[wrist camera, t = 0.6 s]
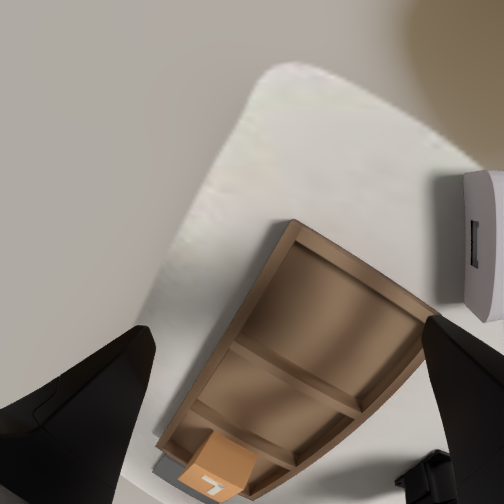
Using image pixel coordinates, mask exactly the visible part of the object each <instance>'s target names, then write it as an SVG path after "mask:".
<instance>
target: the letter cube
mask: <svg viewBox="0 0 504 504" xmlns="http://www.w3.org/2000/svg"><path fill="white" fill-rule="evenodd" d="M257 457H258V455H257V454H255V453H253V452H251V451H249V450H247V449H245V448H244V447H242V446H240V445H238V444H236V443H234V442H233V441H231V440H229V439H227V438H226V437H224V436H222V435H221V434H219V433H217V432H215V431H213V432H212V433H211V434H210V436H209V437H208V438H207V439H206V440H205V441H204V442H203V443H202V445H201V446H200V447H199V448H198V449H197V451H196V452H195V454H194V455H193V457H192V458H191V460H190V461H189V463H188V464H187V466H186V467H185V469H184V470H183V472H182V473H181V475H180V476H179V478H178V479H177V480H179V481H181V482H182V483H184V484H186V485H188V486H189V487H191V488H193V489H195V490H197V491H198V492H200V493H202V494H204V495H206V496H208V497H210V498H212V499H214V500H216V501H218V502H220V503H222V502H224V501H226V500H228V499H229V498H231V497H233V496H234V495H236V494H238V493H239V492H241V491H243V490H244V488H245V486H246V484H247V481H248V479H249V477H250V474H251V472H252V469H253V467H254V464H255V462H256V459H257Z"/></svg>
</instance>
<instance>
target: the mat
mask: <svg viewBox="0 0 504 504" xmlns="http://www.w3.org/2000/svg"><path fill="white" fill-rule="evenodd" d="M185 467H186V466H184V465H183V464H181V463H180V462H178V461H176V460H175V459H173V458H172V457H170V456H169V455H167V454H165V455H164V456H163V458H162V459H161V460H160V462H159V463H158V464H157V466H156V467H155V468H154V470H153V471H152V473H154V474H156V475H157V476H159V477H160V478H162V479H163V480H165V481H166V482H168V483H170V484H171V485H173V486H175V487H176V488H178V489H180V490H181V491H183V492H185V493H187V494H188V495H190V496H192V497H194V498H196V499H198V500H200V501H201V502H203V503H205V504H219V503H220V502H218V501H216V500H214V499H212V498H210V497H208V496H206V495H204V494H202V493H200V492H198V491H197V490H195V489H193V488H191V487H189V486H188V485H186V484H184V483H182V482H181V481H179V480H177V479H178V478H179V476H180V475H181V473H182V472H183V470H184V469H185Z"/></svg>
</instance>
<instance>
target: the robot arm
mask: <svg viewBox="0 0 504 504" xmlns="http://www.w3.org/2000/svg"><path fill="white" fill-rule="evenodd" d="M421 342H422V347H423V351H424V355H425V359H426V364H427V369H428V373H429V378H430V382H431V385H432V388H433V392H434V395H435V398H436V402H437V405H438V409H439V412H440V416H441V419H442V423H443V427H444V431H445V435H446V439H447V444H448V448H449V453H450V454H448V453H446V452H443V451H440V450H438V451H435V452H434V453H433V454H431V455H430V456H429V457H428V458H426V459H425V460H424V461H422V462H421V463H420V464H418V465H417V466H416V467H414V468H413V469H412V470H410V471H409V472H407V473H406V474H404V475H403V476H402V477H400V478H399V479H397V480H396V481H395V486H398V487H402V488H405V498H406V504H504V355H502V354H501V353H499V352H498V351H496V350H495V349H493V348H492V347H490V346H489V345H487V344H486V343H484V342H483V341H481V340H479V339H478V338H476V337H475V336H473V335H472V334H470V333H469V332H467V331H465V330H464V329H462V328H461V327H459V326H457V325H456V324H454V323H453V322H451V321H449V320H448V319H446V318H445V317H443V316H441V315H440V314H435V315H429V316H428V317H427V319H426V322H425V325H424V328H423V332H422V335H421ZM155 352H156V345H155V342H154V339H153V336H152V334H151V331H150V329H149V327H148V326H142V325H137V326H135V327H133V328H131V329H130V330H128V331H127V332H125V333H124V334H122V335H121V336H119V337H118V338H116V339H115V340H113V341H112V342H110V343H109V344H107V345H105V346H104V347H103V348H101V349H99V350H98V351H96V352H95V353H93V354H92V355H90V356H89V357H87V358H86V359H84V360H83V361H81V362H80V363H78V364H76V365H75V366H73V367H72V368H70V369H69V370H67V371H66V372H64V373H63V374H61V375H60V377H57V378H55V379H53V380H52V381H51V382H49V383H47V384H46V385H44V386H43V387H41V388H39V389H37V390H36V391H34V392H32V393H30V394H29V395H27V396H25V397H23V398H21V399H19V400H17V401H16V402H14V403H12V404H10V405H8V406H6V407H4V408H2V409H0V504H112V501H113V498H114V494H115V490H116V486H117V482H118V479H119V475H120V472H121V468H122V465H123V462H124V458H125V455H126V452H127V448H128V445H129V442H130V439H131V436H132V432H133V429H134V426H135V423H136V420H137V417H138V414H139V411H140V408H141V405H142V402H143V399H144V396H145V393H146V390H147V386H148V382H149V378H150V373H151V369H152V365H153V360H154V356H155Z"/></svg>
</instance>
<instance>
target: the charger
mask: <svg viewBox="0 0 504 504" xmlns="http://www.w3.org/2000/svg"><path fill="white" fill-rule="evenodd" d="M463 190H464V203H465V222H466V264H465V283H464V302H465V305H466V307H467V308H468V309H469V310H471V311H472V312H473V313H474V314H475V315H476V316H477V317H478V318H479V319H480V320H481V321H482V322H483V323H487V322H492V321H497V320H502V319H504V171H501V170H483V171H476V172H470V173H465V174H464V178H463ZM471 220H473V263H472V266H471V265H470V263H471Z"/></svg>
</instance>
